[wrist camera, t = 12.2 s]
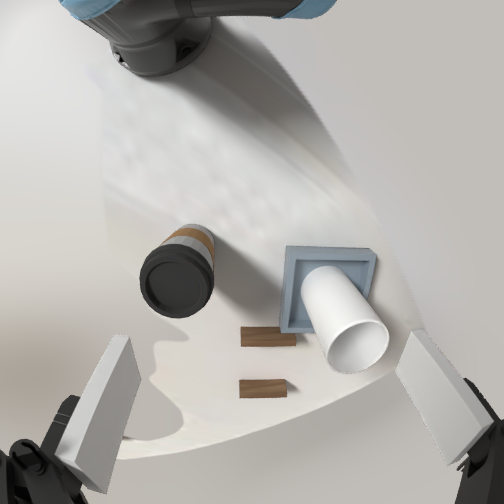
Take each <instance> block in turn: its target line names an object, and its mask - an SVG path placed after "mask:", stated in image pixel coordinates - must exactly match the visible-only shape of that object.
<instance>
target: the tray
mask: <svg viewBox="0 0 504 504" xmlns="http://www.w3.org/2000/svg"><path fill="white" fill-rule="evenodd" d="M376 256H377V254H375V253H374V252H373V251H372V250H371V249H369V248H344V247H311V246H286V255H285V266H284V277H283V288H282V298H281V308H280V317H279V326H280V331H281V333H313V332H315V330H314V328H313V325H312V322H311V320H310V317H309V315H308V312H307V310H306V307H305V305H304V302H303V300H302V297H301V286H302V283H303V281H304V279H305V278H306V276H307V275H308V274H309V273H310V272H311V271H313V270H314V269H316V268H319V267H322V266H335V267H337V268H339V269H341V270H342V271H343V272H344V273H345V274H346V276H347V277H348V278H349V279H350V281H351V282H352V283H353V284H354V286H355V287H356V288H357V289H358V291H359V292H360V293H361V295H362V296H363V297H364V298H365V300H366V301H367V299H368V294H369V290H370V285H371V281H372V276H373V271H374V267H375V261H376Z"/></svg>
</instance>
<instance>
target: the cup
mask: <svg viewBox="0 0 504 504" xmlns="http://www.w3.org/2000/svg"><path fill="white" fill-rule="evenodd" d="M301 297H302V300H303V302H304V305H305V307H306V310H307V312H308V315H309V317H310V320H311V322H312V325H313V328H314V330H315V333H316V335H317V338H318V340H319V343H320V345H321V348H322V351H323V353H324V356H325V358H326V361H327V363H328V365H329V366H330V368H331V369H333V370H334V371H336V372H338V373H342V374H352V373H357V372H360V371H363V370H365V369H367V368H369V367H370V366H372V365H373V364H375V363H376V362H377V361H378V360H379V359H380V358H381V357H382V356H383V354H384V353H385V351H386V349H387V347H388V344H389V332H388V330H387V328H386V326H385V325H384V324H383V322H382V321H381V320H380V318H379V317H378V315H377V314H376V313H375V312H374V310H373V309H372V308H371V306H370V305H369V304H368V302H367V301H366V300H365V298H364V297H363V296H362V295H361V293H360V292H359V291H358V289H357V288H356V287H355V286H354V284H353V283H352V282H351V281H350V279H349V278H348V277H347V276H346V274H345V273H344V272H343V271H342V270H341V269H339V268H337V267H335V266H322V267H319V268H316V269H314V270H313V271H311V272H310V273H309V274H308V275H307V276H306V278H305V279H304V281H303V283H302V286H301Z"/></svg>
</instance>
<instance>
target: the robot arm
mask: <svg viewBox="0 0 504 504" xmlns="http://www.w3.org/2000/svg"><path fill="white" fill-rule="evenodd" d="M336 1H337V0H59V2H60V3H61V5H62V6H63V7H65V8H66V9H67V10H68V11H69V12H70V14H71V15H72V16H73V17H74V18H75V19H78V20H80V21H81V22H83V23H84V24H86V25H87V26H89V27H90V28H92V29H93V30H95V31H96V32H98V33H99V34H101V35H102V36H103V37H105V38H106V39H108V40H109V42H110V46H111V49H112V53H113V55H114V57H115V59H116V60H117V61H118V62H119V63H120V64H121V65H122V66H123V67H125V68H126V69H128V70H129V71H131V72H133V73H135V74H138V75H142V76H161V75H166V74H169V73H172V72H175V71H177V70H179V69H181V68H183V67H185V66H186V65H188V64H189V63H191V62H192V61H193V60H194V59H196V58H197V57H198V56H199V54H200V53H201V52H202V51H203V50H204V48H205V47H206V45H207V43H208V41H209V39H210V35H211V30H212V23H211V18H210V17H218V16H266V17H267V16H268V17H272V18H273V19H283V18H299V19H312V18H315V17H318V16H321V15H323V14H324V13H326V12H327V11H328V10H329V9H330V8H331V7H332V6H333V5H334V4H335V2H336ZM395 372H396V374H397V376H398V377H399V379H400V381H401V383H402V384H403V386H404V387H405V389H406V391H407V393H408V395H409V396H410V398H411V400H412V401H413V403H414V405H415V407H416V409H417V410H418V412H419V414H420V416H421V418H422V419H423V421H424V423H425V424H426V427H427V428H428V430H429V432H430V434H431V436H432V438H433V440H434V442H435V443H436V445H437V447H438V449H439V451H440V453H441V455H442V457H443V459H444V461H445V463H446V465H447V466H449V465H451V464H453V463H454V462H457V461H459V460H460V459H461V458H462V457H463V456H464V455H465V454H466V453H468V455H469V457H468V458H467V459H466V460H465V461H463V462H462V463H461V464H460V466H458V468H457V471H459V470H460V469H461V468H462V467H463V466H464V465H465V466H464V468H463V469H462V470H461V471H462V472H463V475H462V479H461V483H460V487H459V490H458V494H457V498H456V501H455V504H504V419H503V420H500V418H499V417H498V416H497V415H496V413H495V412H494V410H493V409H492V408H491V406H490V405H489V403H488V402H487V401H486V399H484V398H483V395H482V394H481V393H479V390H478V389H477V387H476V386H475V385H474V384H473V383H472V382H471V381H469V380H468V379H467V378H462V377H461V375H460V374H459V373H458V372H457V370H456V369H455V368H454V367H453V365H452V364H451V363H450V361H449V360H448V359H447V358H446V356H445V355H444V354H443V353H442V352H441V350H440V349H439V348H438V347H437V346H436V344H435V343H434V342H433V341H432V340H431V338H430V337H429V336H428V335H427V334H426V332H425V331H424V330H423V329H419V330H412V331H411V332H410V335H409V338H408V340H407V343H406V346H405V348H404V351H403V353H402V356H401V358H400V361H399V363H398V365H397V368H396V370H395ZM140 382H141V376H140V373H139V370H138V366H137V362H136V359H135V355H134V351H133V348H132V344H131V340H130V336H125V335H114V336H113V338H112V340H111V341H110V343H109V345H108V347H107V348H106V350H105V352H104V354H103V356H102V358H101V359H100V361H99V363H98V365H97V367H96V369H95V371H94V372H93V374H92V376H91V378H90V380H89V382H88V384H87V386H86V388H85V390H84V392H83V394H82V396H81V397H78V396H74V395H70V396H69V397H68V398H67V399H66V400H65V401H64V402H62V404H61V406H60V408H59V410H58V412H57V414H56V416H55V418H54V421H53V422H52V424H51V426H50V428H49V430H48V432H47V434H46V436H45V438H44V440H43V442H42V445H41V447H40V448H39V447H38V445H36V444H35V443H34V442H33V441H31V440H28V439H21V440H18V441H16V442H15V443H14V444H13V445H12V446H11V448H10V451H9V456H7V455H5V453H4V452H3V451H1V450H0V504H88V502H87V500H86V498H85V496H84V494H83V492H82V491H81V490H80V489H81V486H82V484H84V485H85V486H86V487H87V488H88V489H90V490H93V491H96V492H100V493H103V494H107V490H108V486H109V482H110V479H111V475H112V471H113V468H114V464H115V461H116V457H117V454H118V450H119V447H120V443H121V440H122V437H123V434H124V430H125V427H126V424H127V420H128V418H129V414H130V411H131V408H132V405H133V402H134V399H135V396H136V393H137V390H138V388H139V385H140Z"/></svg>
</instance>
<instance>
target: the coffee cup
mask: <svg viewBox="0 0 504 504" xmlns="http://www.w3.org/2000/svg"><path fill="white" fill-rule="evenodd" d="M213 273H214V240H213V237H212V235H211V234H210V232H209V231H208V230H207V229H206V228H204V227H202V226H200V225H197V224H188V225H184V226H182V227H181V228H179V229H178V230H177V231H175V232H174V233H173V234H172V235H171V236H170V237H168V238H167V239H166V240H165V241H164V242H163V243H162V244H161V245H160V246H159V247H158V248H156V249H155V250H153V251H152V252H151V253H150V254H149V255H148V256H147V257H146V259H145V261H144V264H143V266H142V268H141V271H140V277H139V279H140V288H141V293H142V295H143V298H144V300H145V301H146V302H147V304H148V305H149V306H150V307H151V308H152V309H153V310H154V311H156V312H157V313H159V314H161V315H163V316H166V317H170V318H185V317H189V316H191V315H193V314H195V313H196V312H198V311H199V310H201V309H202V308H203V307H204V306H205V305H206V303H207V302H208V300H209V299H210V296H211V294H212V291H213V288H214V275H213Z"/></svg>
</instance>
